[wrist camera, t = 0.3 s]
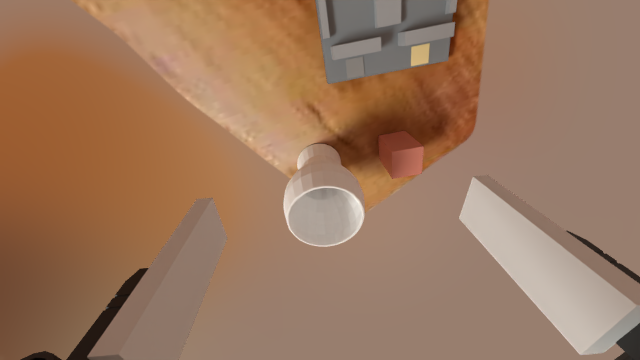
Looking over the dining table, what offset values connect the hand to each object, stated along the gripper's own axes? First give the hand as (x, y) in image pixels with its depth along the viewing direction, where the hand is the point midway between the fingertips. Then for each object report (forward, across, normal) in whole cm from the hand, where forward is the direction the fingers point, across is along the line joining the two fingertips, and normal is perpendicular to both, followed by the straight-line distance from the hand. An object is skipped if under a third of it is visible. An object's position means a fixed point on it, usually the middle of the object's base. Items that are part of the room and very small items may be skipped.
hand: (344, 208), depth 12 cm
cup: (+27, 0, -11) cm, 29 cm away
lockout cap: (+27, +12, -8) cm, 31 cm away
